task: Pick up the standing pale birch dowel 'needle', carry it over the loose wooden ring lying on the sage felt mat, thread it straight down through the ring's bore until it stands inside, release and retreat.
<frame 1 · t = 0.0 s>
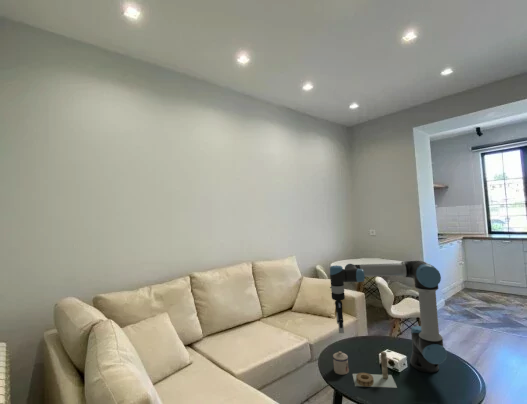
hand: (340, 328, 171), 28 cm above the table, fingers open, 13 cm apart
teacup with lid: (341, 370, 177), on the table
birch dowel: (385, 377, 166), resting on felt mat
felt mat: (373, 381, 164), on the table
wooden ring: (365, 381, 163), resting on felt mat
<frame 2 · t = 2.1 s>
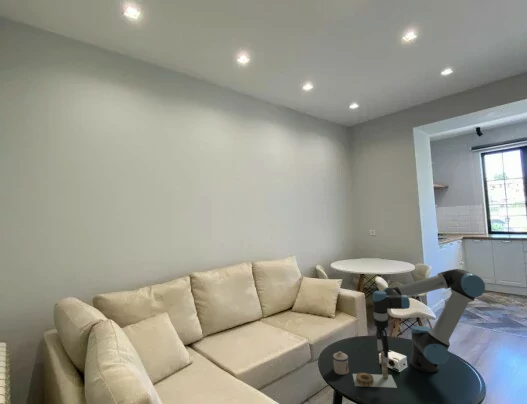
hand: (383, 356, 166), 13 cm above the table, fingers open, 13 cm apart
nothing on the table moved.
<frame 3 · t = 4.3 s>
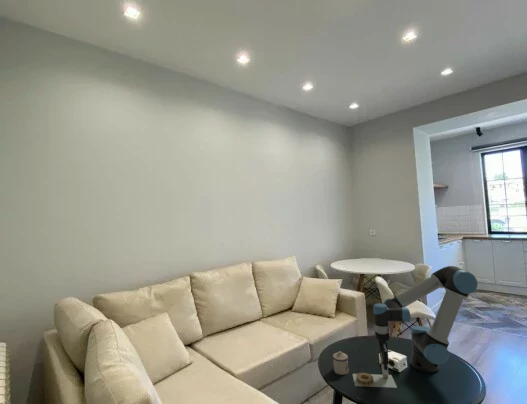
hand: (385, 372, 166), 3 cm above the table, fingers closed on birch dowel, 3 cm apart
birch dowel: (385, 377, 166), resting on felt mat, touching gripper
everything else where it was.
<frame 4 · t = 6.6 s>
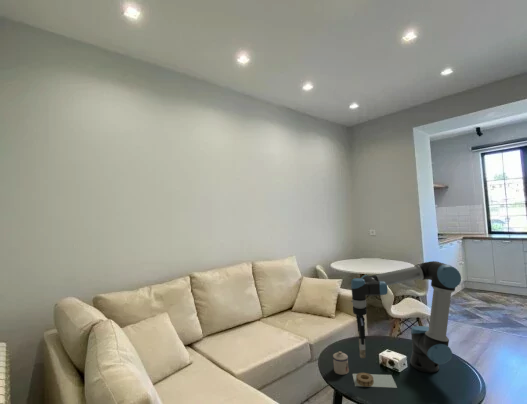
hand: (362, 347, 164), 19 cm above the table, fingers closed on birch dowel, 3 cm apart
birch dowel: (362, 356, 164), point 14 cm above the table, touching gripper
everything else where it was.
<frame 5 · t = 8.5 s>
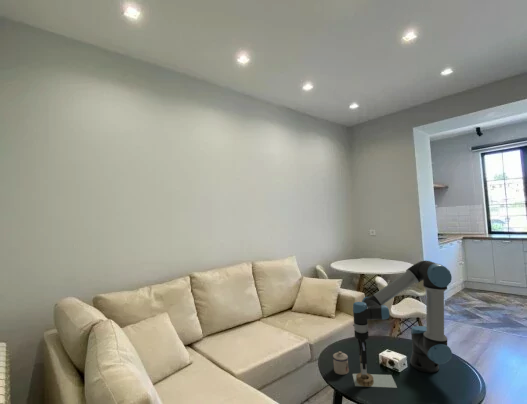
hand: (363, 372, 163), 6 cm above the table, fingers closed on birch dowel, 3 cm apart
birch dowel: (364, 381, 163), resting on felt mat, touching gripper
everything else where it was.
when the fingers open (5 cm above the table, at t = 9.2 s): birch dowel stays where it is, resting on felt mat.
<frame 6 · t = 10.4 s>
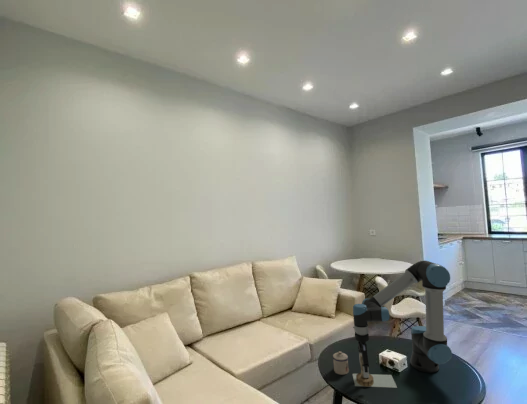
hand: (364, 370, 163), 7 cm above the table, fingers open, 13 cm apart
birch dowel: (364, 381, 163), resting on felt mat
everything else where it was.
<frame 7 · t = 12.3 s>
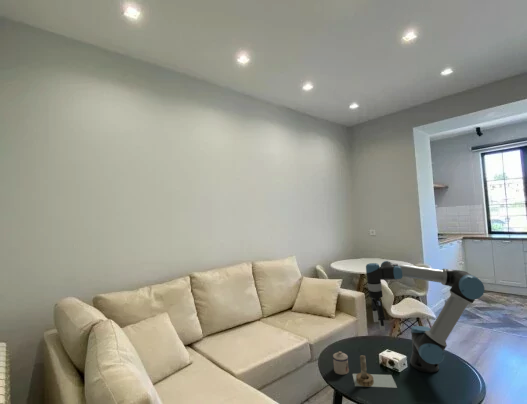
hand: (379, 326, 170), 28 cm above the table, fingers open, 13 cm apart
nothing on the table moved.
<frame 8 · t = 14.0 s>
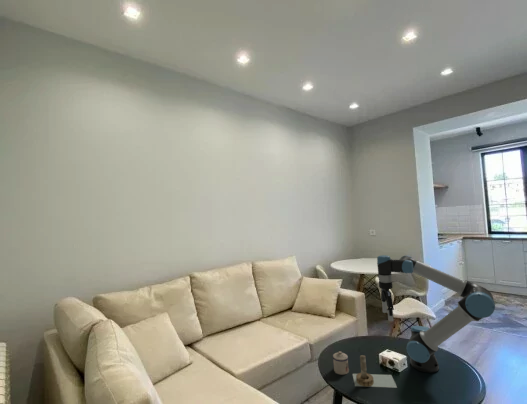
hand: (387, 316, 175), 32 cm above the table, fingers open, 13 cm apart
nothing on the table moved.
at the end: birch dowel 0.3 cm off-centre on the wooden ring, point 0.0 cm above the wooden ring's base; birch dowel tilted 0°; the gripper is holding nothing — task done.
